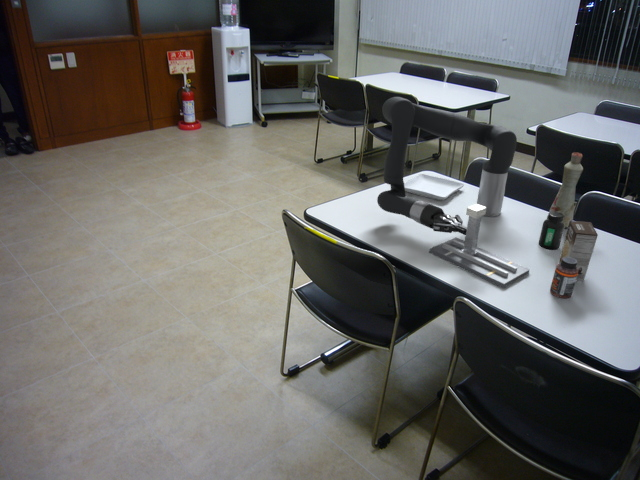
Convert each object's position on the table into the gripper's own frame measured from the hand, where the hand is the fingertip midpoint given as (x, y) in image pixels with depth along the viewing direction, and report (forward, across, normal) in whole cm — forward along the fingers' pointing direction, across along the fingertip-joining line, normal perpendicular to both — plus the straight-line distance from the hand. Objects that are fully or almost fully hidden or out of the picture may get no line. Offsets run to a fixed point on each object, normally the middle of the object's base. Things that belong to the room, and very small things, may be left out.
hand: (468, 232), depth 168 cm
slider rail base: (+5, 0, +9) cm, 10 cm away
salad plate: (-45, +38, +10) cm, 60 cm away
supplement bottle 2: (+31, +4, +9) cm, 33 cm away
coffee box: (+27, +18, +9) cm, 34 cm away
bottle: (+6, +50, +9) cm, 51 cm away
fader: (+1, 0, +7) cm, 7 cm away
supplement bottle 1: (+13, +30, +9) cm, 34 cm away
